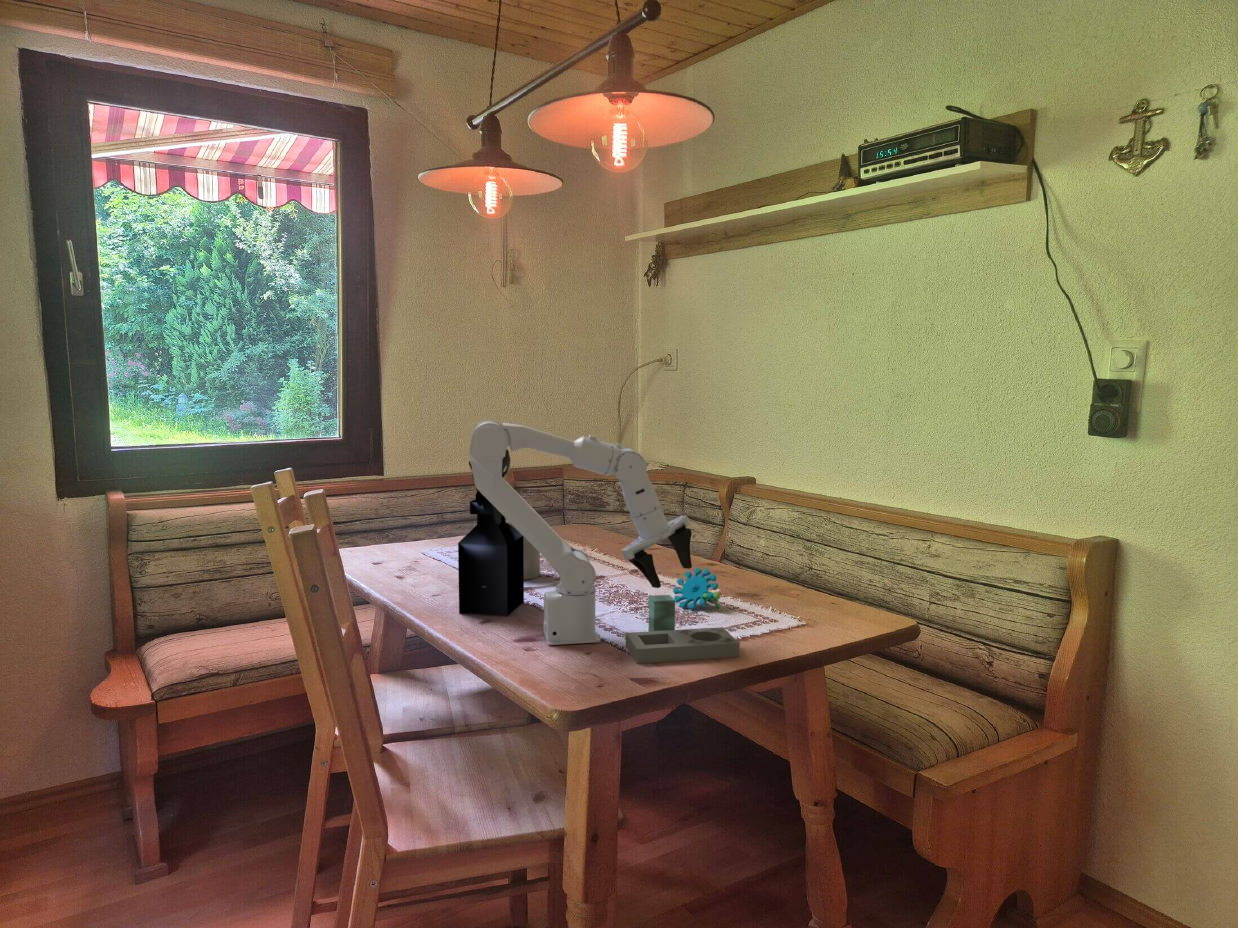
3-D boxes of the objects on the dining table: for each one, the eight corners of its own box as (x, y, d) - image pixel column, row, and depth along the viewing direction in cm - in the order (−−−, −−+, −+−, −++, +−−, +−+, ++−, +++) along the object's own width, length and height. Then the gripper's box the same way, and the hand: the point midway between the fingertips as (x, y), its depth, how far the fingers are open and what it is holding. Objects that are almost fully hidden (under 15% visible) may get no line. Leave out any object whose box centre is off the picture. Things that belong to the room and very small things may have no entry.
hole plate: (636, 663, 138) (637, 649, 138) (625, 646, 147) (625, 632, 147) (739, 656, 142) (739, 642, 142) (722, 640, 151) (722, 627, 150)
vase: (508, 621, 161) (507, 443, 158) (453, 617, 164) (450, 441, 160) (530, 602, 175) (530, 437, 172) (479, 598, 178) (477, 436, 174)
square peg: (653, 638, 152) (654, 601, 151) (648, 631, 156) (648, 595, 155) (674, 637, 153) (675, 600, 152) (669, 630, 156) (669, 594, 156)
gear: (662, 596, 175) (690, 559, 178) (674, 611, 178) (701, 575, 181) (700, 614, 166) (728, 576, 170) (712, 630, 170) (739, 592, 173)
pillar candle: (493, 574, 200) (492, 513, 198) (529, 569, 205) (529, 509, 203) (510, 582, 192) (510, 519, 190) (547, 577, 197) (547, 515, 195)
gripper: (626, 528, 144) (654, 597, 147) (687, 493, 151) (713, 560, 153) (606, 527, 150) (633, 594, 153) (666, 494, 157) (691, 558, 160)
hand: (672, 577), depth 153 cm, fingers open, 7 cm apart
